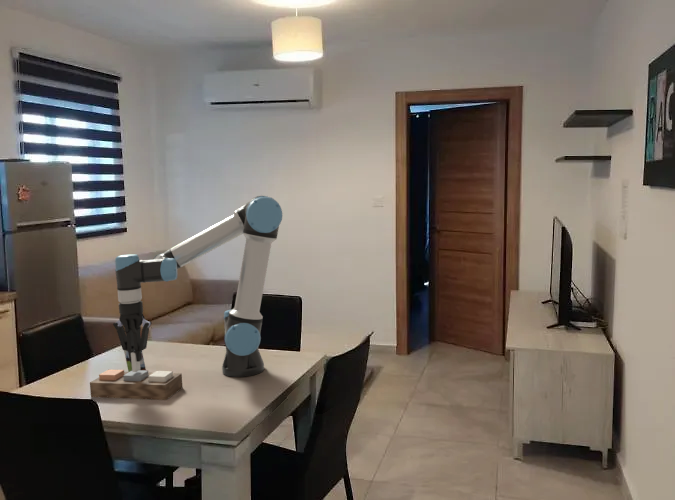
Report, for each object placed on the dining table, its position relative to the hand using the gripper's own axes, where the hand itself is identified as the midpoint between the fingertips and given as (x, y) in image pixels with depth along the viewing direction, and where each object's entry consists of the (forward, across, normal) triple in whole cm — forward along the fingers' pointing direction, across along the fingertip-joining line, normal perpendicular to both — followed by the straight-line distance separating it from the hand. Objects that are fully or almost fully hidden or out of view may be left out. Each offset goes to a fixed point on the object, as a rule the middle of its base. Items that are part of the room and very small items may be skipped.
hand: (136, 370), depth 213 cm
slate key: (+5, 0, 0) cm, 5 cm away
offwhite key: (+5, -9, 0) cm, 10 cm away
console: (+8, 0, 0) cm, 8 cm away
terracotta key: (+5, +9, 0) cm, 10 cm away
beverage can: (+8, +10, -17) cm, 21 cm away
